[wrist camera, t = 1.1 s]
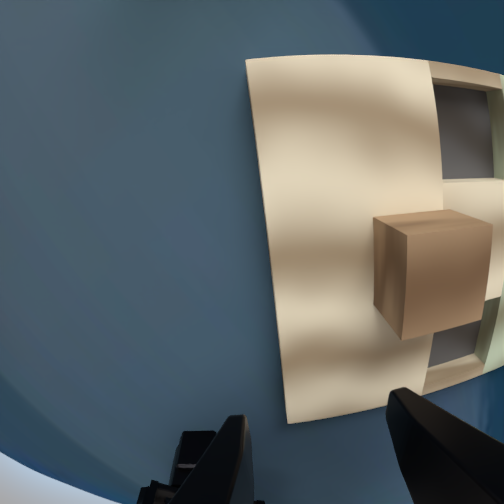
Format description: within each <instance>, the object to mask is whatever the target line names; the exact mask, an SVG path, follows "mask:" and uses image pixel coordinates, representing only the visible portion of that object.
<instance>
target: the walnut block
mask: <svg viewBox="0 0 504 504" xmlns="http://www.w3.org/2000/svg"><path fill="white" fill-rule="evenodd" d="M373 232H374V302H373V305H374V306H375V307H376V308H377V310H378V311H379V312H380V314H381V315H382V316H383V317H384V319H385V320H386V321H387V323H388V324H389V325H390V327H391V328H392V329H393V330H394V332H395V333H396V334H397V336H398V337H399V338H400V340H401V341H403V340H407V339H411V338H415V337H419V336H423V335H427V334H431V333H435V332H439V331H443V330H446V329H450V328H454V327H457V326H461V325H464V324H468V323H471V322H474V321H478V320H481V319H482V313H483V308H484V302H485V296H486V290H487V283H488V275H489V267H490V258H491V247H492V234H493V224H490V223H488V222H485V221H482V220H479V219H477V218H474V217H471V216H468V215H465V214H462V213H460V212H457V211H454V210H451V209H447V210H436V211H426V212H415V213H405V214H396V215H386V216H376V217H373Z"/></svg>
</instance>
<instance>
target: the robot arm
mask: <svg viewBox="0 0 504 504" xmlns="http://www.w3.org/2000/svg"><path fill="white" fill-rule="evenodd" d="M386 421H387V424H388V428H389V431H390V435H391V438H392V442H393V445H394V449H395V453H396V457H397V460H398V464H399V467H400V470H401V472H402V475H403V477H404V480H405V482H406V485H407V487H408V490H409V492H410V495H411V497H412V500H413V502H414V504H504V444H503V443H502V442H500V441H498V440H496V439H494V438H493V437H491V436H489V435H487V434H485V433H484V432H482V431H480V430H478V429H477V428H475V427H473V426H471V425H470V424H468V423H466V422H464V421H463V420H461V419H459V418H457V417H456V416H454V415H452V414H450V413H449V412H447V411H445V410H444V409H442V408H440V407H438V406H437V405H435V404H433V403H432V402H430V401H428V400H427V399H425V398H423V397H422V396H420V395H418V394H417V393H415V392H413V391H412V390H410V389H408V388H406V387H401V388H398V389H394V390H391V391H390V393H389V397H388V402H387V408H386ZM137 504H265V502H264V501H261V500H257V501H254V478H253V462H252V446H251V436H250V431H249V426H248V422H247V417H246V416H245V415H243V414H242V415H230V416H229V417H228V418H227V419H226V421H225V422H224V424H223V425H222V427H221V428H220V430H219V431H218V433H217V434H216V432H215V431H184V432H182V436H181V438H180V443H179V445H178V447H177V448H176V452H175V456H174V461H173V466H172V471H171V475H170V480H169V485H166V484H162V483H158V481H154V480H151V484H150V487H149V486H148V487H142V488H141V490H140V494H139V497H138V501H137Z"/></svg>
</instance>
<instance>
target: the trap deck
mask: <svg viewBox="0 0 504 504" xmlns="http://www.w3.org/2000/svg"><path fill="white" fill-rule="evenodd" d="M246 75H247V82H248V90H249V97H250V105H251V112H252V120H253V127H254V135H255V143H256V150H257V158H258V166H259V174H260V182H261V190H262V198H263V206H264V215H265V223H266V232H267V240H268V249H269V257H270V266H271V275H272V284H273V293H274V302H275V311H276V320H277V330H278V339H279V349H280V358H281V368H282V378H283V388H284V398H285V407H286V415H287V422H288V424H291V423H298V422H305V421H312V420H318V419H324V418H330V417H335V416H340V415H345V414H350V413H355V412H360V411H364V410H369V409H373V408H377V407H381V406H385V405H387V402H388V397H389V393H390V391H391V390H394V389H398V388H401V387H406V388H408V389H410V390H412V391H413V392H415V393H417V394H418V395H420V396H421V395H425V394H428V393H431V392H434V391H437V390H440V389H443V388H446V387H449V386H452V385H455V384H458V383H461V382H463V381H466V380H469V379H471V378H474V377H477V376H479V375H482V374H484V373H487V372H489V371H492V370H494V369H496V368H499V367H501V366H503V365H504V75H501V74H497V73H492V72H488V71H484V70H479V69H474V68H469V67H464V66H459V65H453V64H447V63H440V62H434V61H426V60H418V59H409V58H398V57H386V56H368V55H300V56H282V57H269V58H258V59H248V60H246ZM447 209H451V210H454V211H457V212H460V213H462V214H465V215H468V216H471V217H474V218H477V219H479V220H482V221H485V222H488V223H490V224H493V234H492V247H491V258H490V267H489V275H488V283H487V290H486V296H485V302H484V308H483V313H482V319H481V320H478V321H474V322H471V323H468V324H464V325H461V326H457V327H454V328H450V329H446V330H443V331H439V332H435V333H431V334H427V335H423V336H419V337H415V338H411V339H407V340H403V341H401V340H400V338H399V337H398V336H397V334H396V333H395V332H394V330H393V329H392V328H391V327H390V325H389V324H388V323H387V321H386V320H385V319H384V317H383V316H382V315H381V314H380V312H379V311H378V310H377V308H376V307H375V306H374V305H373V302H374V232H373V217H376V216H386V215H396V214H405V213H415V212H426V211H436V210H447Z"/></svg>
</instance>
